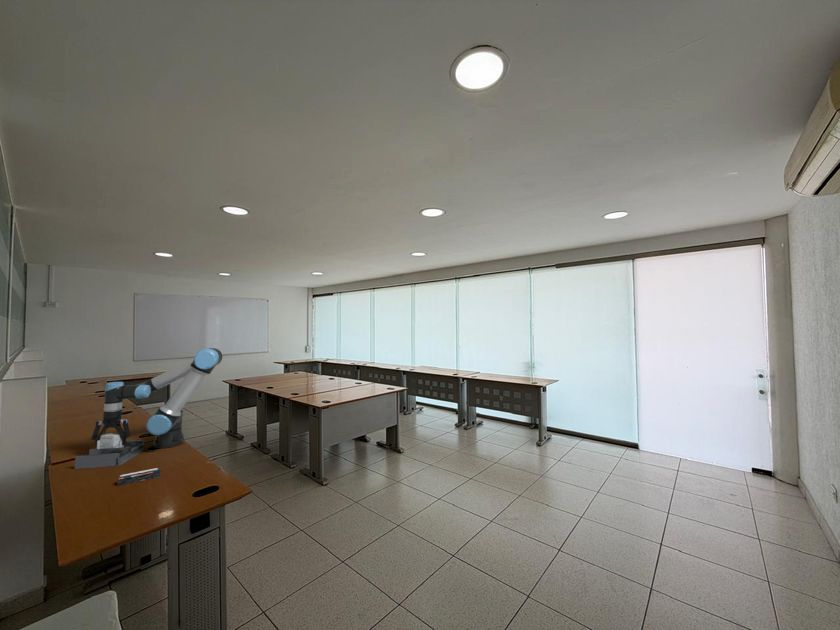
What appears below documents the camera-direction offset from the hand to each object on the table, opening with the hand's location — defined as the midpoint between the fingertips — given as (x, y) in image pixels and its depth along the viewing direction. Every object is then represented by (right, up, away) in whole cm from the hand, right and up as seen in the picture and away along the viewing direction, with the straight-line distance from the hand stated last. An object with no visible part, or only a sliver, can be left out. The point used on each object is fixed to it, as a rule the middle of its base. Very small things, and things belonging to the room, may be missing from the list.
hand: (110, 451), depth 182 cm
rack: (+4, -2, -4) cm, 7 cm away
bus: (+38, -2, -29) cm, 48 cm away
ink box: (0, -3, 0) cm, 3 cm away
